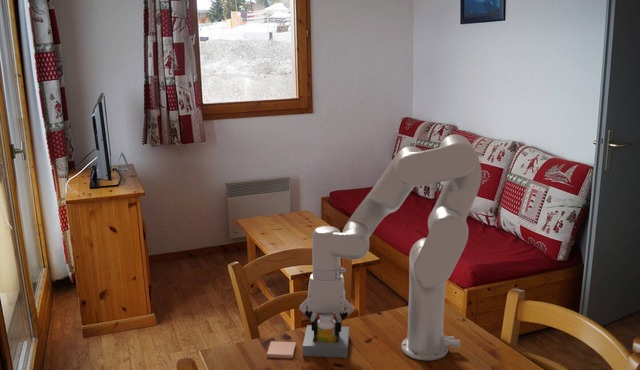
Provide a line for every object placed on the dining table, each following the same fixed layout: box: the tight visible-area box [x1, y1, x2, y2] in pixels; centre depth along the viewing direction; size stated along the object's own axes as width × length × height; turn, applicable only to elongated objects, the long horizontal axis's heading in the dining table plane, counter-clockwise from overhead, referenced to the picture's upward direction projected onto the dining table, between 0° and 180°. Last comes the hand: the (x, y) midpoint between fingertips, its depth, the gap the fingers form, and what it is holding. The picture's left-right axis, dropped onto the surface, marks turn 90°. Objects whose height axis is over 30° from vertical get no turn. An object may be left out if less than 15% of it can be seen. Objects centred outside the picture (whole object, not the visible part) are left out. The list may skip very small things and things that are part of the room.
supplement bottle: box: [316, 313, 337, 343], centre depth 178 cm, size 5×5×10 cm
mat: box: [266, 340, 297, 359], centre depth 177 cm, size 7×7×1 cm
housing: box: [302, 324, 350, 359], centre depth 179 cm, size 12×12×3 cm
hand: (326, 332), depth 179 cm, fingers closed on supplement bottle, 5 cm apart
